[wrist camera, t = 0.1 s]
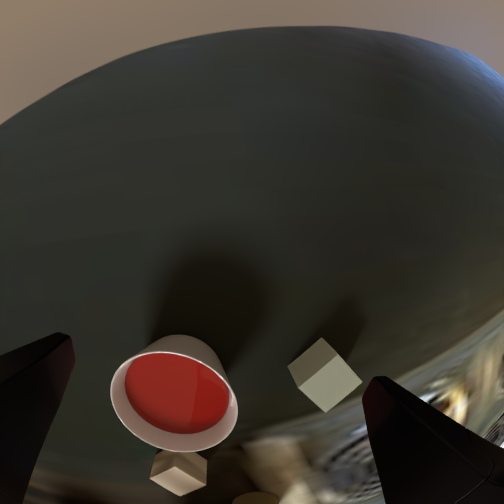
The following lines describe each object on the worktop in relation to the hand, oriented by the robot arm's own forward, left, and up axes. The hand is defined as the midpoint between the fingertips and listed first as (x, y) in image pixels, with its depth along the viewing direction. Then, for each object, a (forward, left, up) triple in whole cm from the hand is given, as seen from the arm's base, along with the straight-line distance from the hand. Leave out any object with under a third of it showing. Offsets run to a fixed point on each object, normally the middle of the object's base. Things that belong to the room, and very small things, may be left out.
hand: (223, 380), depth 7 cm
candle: (-8, -3, -16) cm, 18 cm away
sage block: (+1, -11, -16) cm, 19 cm away
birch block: (-17, -11, -16) cm, 26 cm away
